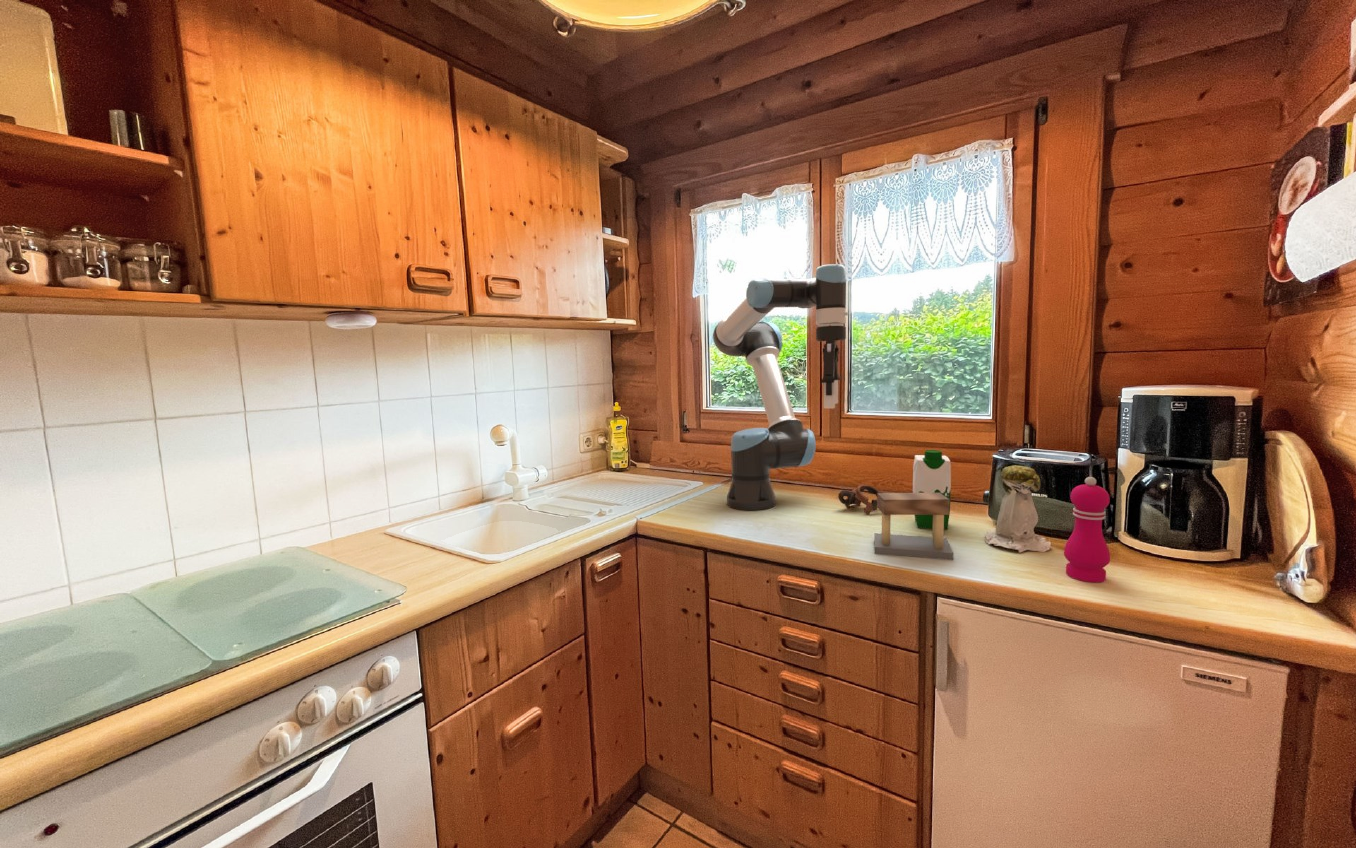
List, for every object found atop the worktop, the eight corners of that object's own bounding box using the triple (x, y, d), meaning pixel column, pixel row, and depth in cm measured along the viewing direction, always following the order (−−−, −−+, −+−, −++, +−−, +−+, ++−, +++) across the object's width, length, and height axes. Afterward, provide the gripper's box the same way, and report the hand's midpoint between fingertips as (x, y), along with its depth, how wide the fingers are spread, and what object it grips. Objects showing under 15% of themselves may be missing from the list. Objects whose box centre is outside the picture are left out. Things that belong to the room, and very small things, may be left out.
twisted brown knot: (867, 505, 161) (879, 484, 157) (876, 527, 153) (889, 506, 149) (830, 497, 160) (841, 476, 156) (837, 519, 152) (849, 498, 148)
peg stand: (874, 553, 121) (874, 515, 120) (874, 539, 130) (874, 503, 129) (953, 559, 115) (953, 519, 114) (946, 544, 124) (947, 507, 123)
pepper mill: (1053, 570, 108) (1058, 474, 105) (1086, 568, 108) (1092, 472, 106) (1083, 585, 101) (1089, 482, 98) (1119, 582, 101) (1125, 480, 99)
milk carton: (914, 529, 136) (915, 452, 134) (911, 518, 145) (912, 446, 142) (952, 531, 133) (953, 453, 131) (946, 520, 142) (948, 447, 140)
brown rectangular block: (939, 507, 124) (939, 492, 123) (949, 514, 118) (949, 499, 117) (877, 507, 125) (877, 493, 125) (883, 514, 119) (883, 499, 119)
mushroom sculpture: (973, 537, 129) (975, 462, 127) (1023, 534, 130) (1026, 460, 128) (1006, 554, 117) (1009, 472, 115) (1061, 551, 118) (1065, 469, 116)
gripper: (843, 322, 127) (843, 410, 129) (847, 327, 150) (847, 401, 152) (811, 323, 129) (811, 410, 132) (820, 328, 153) (820, 402, 155)
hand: (831, 406), depth 142 cm, fingers open, 13 cm apart
